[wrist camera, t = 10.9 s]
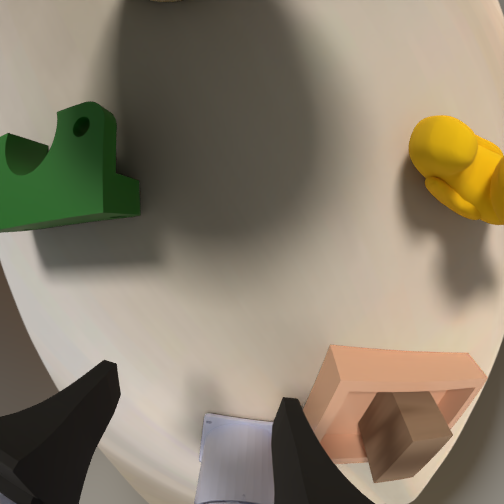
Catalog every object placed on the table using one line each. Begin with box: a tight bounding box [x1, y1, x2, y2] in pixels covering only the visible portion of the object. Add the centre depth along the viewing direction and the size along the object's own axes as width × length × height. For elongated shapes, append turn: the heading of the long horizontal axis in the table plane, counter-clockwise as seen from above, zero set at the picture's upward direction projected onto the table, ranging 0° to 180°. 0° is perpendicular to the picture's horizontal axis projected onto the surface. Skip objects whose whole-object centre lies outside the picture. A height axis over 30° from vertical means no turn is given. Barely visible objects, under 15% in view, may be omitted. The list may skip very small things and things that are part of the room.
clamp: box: [0, 102, 140, 233], centre depth 15 cm, size 12×6×9 cm, turn 87°
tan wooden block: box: [358, 391, 453, 483], centre depth 19 cm, size 6×4×7 cm, turn 169°
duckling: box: [409, 115, 504, 225], centre depth 12 cm, size 11×5×10 cm, turn 69°
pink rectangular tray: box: [303, 345, 488, 464], centre depth 21 cm, size 11×15×4 cm
